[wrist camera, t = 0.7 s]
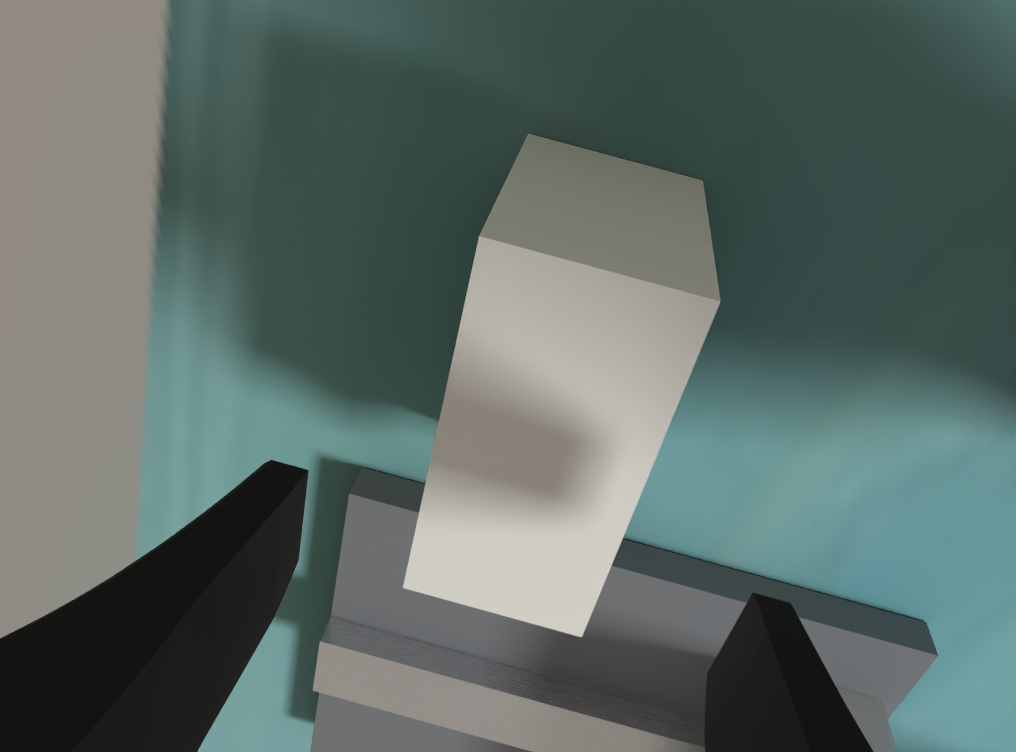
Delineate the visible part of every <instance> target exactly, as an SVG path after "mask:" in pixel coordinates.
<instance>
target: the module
mask: <svg viewBox="0 0 1016 752" xmlns="http://www.w3.org/2000/svg"><path fill="white" fill-rule="evenodd" d="M720 302H721V301H720V294H719V287H718V280H717V273H716V266H715V259H714V253H713V246H712V239H711V232H710V225H709V218H708V212H707V205H706V198H705V191H704V184H703V180H699V179H696V178H692V177H688V176H684V175H681V174H677V173H673V172H670V171H666V170H662V169H658V168H655V167H651V166H647V165H644V164H640V163H636V162H632V161H629V160H625V159H621V158H618V157H614V156H610V155H606V154H603V153H599V152H595V151H592V150H588V149H584V148H580V147H577V146H573V145H569V144H566V143H562V142H558V141H554V140H551V139H547V138H543V137H540V136H536V135H532V134H528V135H527V137H526V139H525V141H524V143H523V146H522V148H521V150H520V152H519V154H518V156H517V158H516V160H515V162H514V164H513V166H512V169H511V171H510V173H509V175H508V177H507V179H506V181H505V183H504V185H503V187H502V189H501V191H500V194H499V196H498V198H497V200H496V202H495V204H494V206H493V208H492V210H491V212H490V214H489V216H488V219H487V221H486V223H485V225H484V227H483V229H482V231H481V233H480V235H479V239H478V244H477V248H476V253H475V257H474V262H473V267H472V271H471V276H470V280H469V285H468V290H467V294H466V299H465V303H464V308H463V313H462V317H461V322H460V327H459V331H458V336H457V340H456V345H455V350H454V354H453V359H452V363H451V368H450V373H449V377H448V382H447V386H446V391H445V396H444V400H443V405H442V410H441V414H440V419H439V423H438V428H437V433H436V437H435V442H434V446H433V451H432V456H431V460H430V465H429V469H428V474H427V479H426V483H425V488H424V493H423V497H422V502H421V506H420V511H419V516H418V520H417V525H416V529H415V534H414V539H413V543H412V548H411V552H410V557H409V562H408V566H407V571H406V576H405V580H404V585H403V588H405V589H408V590H412V591H416V592H419V593H423V594H426V595H430V596H434V597H437V598H441V599H445V600H448V601H452V602H455V603H459V604H463V605H466V606H470V607H474V608H477V609H481V610H484V611H488V612H492V613H495V614H499V615H502V616H506V617H510V618H513V619H517V620H521V621H524V622H528V623H531V624H535V625H539V626H542V627H546V628H550V629H553V630H557V631H560V632H564V633H568V634H571V635H575V636H578V637H582V636H583V633H584V631H585V628H586V626H587V624H588V621H589V619H590V616H591V614H592V612H593V609H594V607H595V604H596V602H597V599H598V597H599V595H600V592H601V590H602V587H603V585H604V583H605V580H606V578H607V575H608V573H609V570H610V568H611V566H612V563H613V561H614V558H615V556H616V553H617V551H618V549H619V546H620V544H621V541H622V539H623V537H624V534H625V532H626V529H627V527H628V524H629V522H630V520H631V517H632V515H633V512H634V510H635V508H636V505H637V503H638V500H639V498H640V495H641V493H642V491H643V488H644V486H645V483H646V481H647V478H648V476H649V474H650V471H651V469H652V466H653V464H654V462H655V459H656V457H657V454H658V452H659V449H660V447H661V445H662V442H663V440H664V437H665V435H666V433H667V430H668V428H669V425H670V423H671V420H672V418H673V416H674V413H675V411H676V408H677V406H678V403H679V401H680V399H681V396H682V394H683V391H684V389H685V387H686V384H687V382H688V379H689V377H690V374H691V372H692V370H693V367H694V365H695V362H696V360H697V358H698V355H699V353H700V350H701V348H702V345H703V343H704V341H705V338H706V336H707V333H708V331H709V328H710V326H711V324H712V321H713V319H714V316H715V314H716V312H717V309H718V307H719V304H720Z"/></svg>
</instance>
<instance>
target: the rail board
mask: <svg viewBox="0 0 1016 752" xmlns="http://www.w3.org/2000/svg"><path fill="white" fill-rule="evenodd" d="M424 488H425V484H421V483H418V482H414V481H410V480H407V479H403V478H399V477H396V476H392V475H388V474H385V473H381V472H378V471H374V470H370V469H367V468H363V467H362V468H361V470H360V472H359V474H358V476H357V478H356V480H355V482H354V485H353V487H352V489H351V491H350V493H349V497H348V504H347V511H346V517H345V524H344V531H343V537H342V544H341V551H340V557H339V564H338V571H337V577H336V584H335V591H334V597H333V604H332V611H331V616H330V619H329V621H328V623H327V626H326V628H325V630H324V633H323V635H322V637H321V639H320V643H319V650H318V657H317V664H316V671H315V678H314V685H313V691H316V692H319V697H318V704H317V711H316V717H315V724H314V731H313V737H312V744H311V751H310V752H705V741H704V729H705V701H706V683H707V673H708V671H709V669H710V667H711V666H712V664H713V662H714V660H715V658H716V657H717V655H718V653H719V651H720V650H721V648H722V646H723V644H724V643H725V641H726V639H727V637H728V635H729V634H730V632H731V630H732V628H733V627H734V625H735V623H736V621H737V619H738V618H739V616H740V614H741V612H742V611H743V609H744V607H745V605H746V604H747V602H748V600H749V598H750V596H751V595H752V593H757V594H760V595H764V596H768V597H771V598H775V599H779V600H782V601H786V602H789V603H791V604H792V606H793V608H794V610H795V612H796V613H797V615H798V617H799V619H800V621H801V623H802V624H803V626H804V628H805V630H806V632H807V634H808V636H809V638H810V639H811V641H812V643H813V645H814V647H815V649H816V651H817V652H818V654H819V656H820V658H821V660H822V662H823V664H824V665H825V667H826V669H827V671H828V673H829V675H830V676H831V678H832V680H833V682H834V684H835V686H836V687H837V689H838V691H839V693H840V695H841V696H842V698H843V700H844V702H845V704H846V705H847V707H848V709H849V711H850V712H851V714H852V716H853V717H854V719H855V721H856V723H857V724H858V726H859V728H860V729H861V731H862V733H863V735H864V736H865V738H866V740H867V741H868V743H869V745H870V746H871V748H872V750H873V751H874V752H896V749H895V745H894V741H893V738H892V734H891V730H890V727H889V723H888V718H889V717H890V716H891V714H892V713H893V712H894V710H895V709H896V708H897V707H898V705H899V704H900V703H901V702H902V700H903V699H904V698H905V697H906V695H907V694H908V693H909V692H910V690H911V689H912V688H913V687H914V685H915V684H916V683H917V682H918V680H919V679H920V678H921V677H922V675H923V674H924V673H925V672H926V670H927V669H928V668H929V667H930V665H931V664H932V663H933V662H934V660H935V659H936V658H937V657H938V654H937V651H936V648H935V645H934V643H933V640H932V637H931V634H930V631H929V628H928V626H927V623H926V622H923V621H920V620H916V619H913V618H909V617H905V616H902V615H898V614H894V613H891V612H887V611H883V610H880V609H876V608H872V607H869V606H865V605H862V604H858V603H854V602H851V601H847V600H843V599H840V598H836V597H832V596H829V595H825V594H822V593H818V592H814V591H811V590H807V589H803V588H800V587H796V586H792V585H789V584H785V583H782V582H778V581H774V580H771V579H767V578H763V577H760V576H756V575H752V574H749V573H745V572H741V571H738V570H734V569H731V568H727V567H723V566H720V565H716V564H712V563H709V562H705V561H701V560H698V559H694V558H691V557H687V556H683V555H680V554H676V553H672V552H669V551H665V550H661V549H658V548H654V547H650V546H647V545H643V544H640V543H636V542H632V541H629V540H625V539H622V541H621V544H620V546H619V549H618V551H617V553H616V556H615V558H614V561H613V563H612V566H611V568H610V570H609V573H608V575H607V578H606V580H605V583H604V585H603V587H602V590H601V592H600V595H599V597H598V599H597V602H596V604H595V607H594V609H593V612H592V614H591V616H590V619H589V621H588V624H587V626H586V628H585V631H584V633H583V636H582V637H578V636H575V635H571V634H568V633H564V632H560V631H557V630H553V629H550V628H546V627H542V626H539V625H535V624H531V623H528V622H524V621H521V620H517V619H513V618H510V617H506V616H502V615H499V614H495V613H492V612H488V611H484V610H481V609H477V608H474V607H470V606H466V605H463V604H459V603H455V602H452V601H448V600H445V599H441V598H437V597H434V596H430V595H426V594H423V593H419V592H416V591H412V590H408V589H405V588H403V585H404V580H405V576H406V571H407V566H408V562H409V557H410V552H411V548H412V543H413V539H414V534H415V529H416V525H417V520H418V516H419V511H420V506H421V502H422V497H423V493H424Z"/></svg>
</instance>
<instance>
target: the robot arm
mask: <svg viewBox="0 0 1016 752" xmlns="http://www.w3.org/2000/svg"><path fill="white" fill-rule="evenodd" d="M307 479H308V470H306V469H302V468H299V467H295V466H292V465H288V464H284V463H281V462H277V461H273V460H270V461H268V462H266V463H264V464H263V465H262V466H261V467H259V468H258V469H257V470H256V471H255V472H254V473H252V474H251V475H250V476H249V477H248V478H246V479H245V480H244V481H243V482H242V483H240V484H239V485H238V486H237V487H236V488H234V489H233V490H232V491H231V492H229V493H228V494H227V495H226V496H224V497H223V498H222V499H221V500H219V501H218V502H217V503H215V504H214V505H213V506H212V507H210V508H209V509H208V510H207V511H205V512H204V513H203V514H201V515H200V516H199V517H197V518H196V519H195V520H193V521H192V522H190V523H189V524H188V525H186V526H185V527H184V528H182V529H181V530H180V531H178V532H177V533H176V534H174V535H173V536H172V537H170V538H169V539H167V540H166V541H165V542H163V543H162V544H160V545H159V546H157V547H156V548H154V549H153V550H151V551H150V552H148V553H147V554H145V555H144V556H142V557H141V558H139V559H138V560H136V561H135V562H133V563H132V564H130V565H129V566H127V567H126V568H124V569H123V570H121V571H120V572H118V573H117V574H115V575H114V576H112V577H111V578H109V579H107V580H106V581H104V582H103V583H101V584H99V585H98V586H96V587H94V588H93V589H91V590H89V591H88V592H86V593H85V594H83V595H81V596H79V597H77V598H76V599H74V600H72V601H70V602H69V603H67V604H65V605H63V606H62V607H60V608H58V609H56V610H54V611H53V612H51V613H49V614H47V615H45V616H43V617H41V618H40V619H38V620H36V621H34V622H32V623H30V624H28V625H26V626H24V627H22V628H20V629H18V630H16V631H14V632H12V633H10V634H8V635H6V636H4V637H2V638H0V752H197V751H198V749H199V747H200V746H201V744H202V742H203V740H204V738H205V737H206V735H207V733H208V731H209V730H210V728H211V726H212V724H213V723H214V721H215V719H216V717H217V716H218V714H219V712H220V711H221V709H222V707H223V705H224V704H225V702H226V700H227V698H228V697H229V695H230V693H231V692H232V690H233V688H234V686H235V685H236V683H237V681H238V679H239V678H240V676H241V674H242V673H243V671H244V669H245V667H246V666H247V664H248V662H249V660H250V659H251V657H252V655H253V653H254V652H255V650H256V648H257V646H258V645H259V643H260V641H261V639H262V638H263V636H264V634H265V632H266V631H267V629H268V627H269V625H270V624H271V622H272V620H273V618H274V616H275V614H276V612H277V609H278V607H279V605H280V603H281V600H282V598H283V596H284V593H285V591H286V589H287V586H288V584H289V582H290V579H291V577H292V575H293V572H294V570H295V568H296V565H297V563H298V560H299V551H300V542H301V533H302V524H303V515H304V506H305V497H306V488H307ZM704 741H705V752H874V751H873V750H872V748H871V746H870V745H869V743H868V741H867V740H866V738H865V736H864V735H863V733H862V731H861V729H860V728H859V726H858V724H857V723H856V721H855V719H854V717H853V716H852V714H851V712H850V711H849V709H848V707H847V705H846V704H845V702H844V700H843V698H842V696H841V695H840V693H839V691H838V689H837V687H836V686H835V684H834V682H833V680H832V678H831V676H830V675H829V673H828V671H827V669H826V667H825V665H824V664H823V662H822V660H821V658H820V656H819V654H818V652H817V651H816V649H815V647H814V645H813V643H812V641H811V639H810V638H809V636H808V634H807V632H806V630H805V628H804V626H803V624H802V623H801V621H800V619H799V617H798V615H797V613H796V612H795V610H794V608H793V606H792V604H791V603H789V602H786V601H782V600H779V599H775V598H771V597H768V596H764V595H760V594H757V593H752V595H751V596H750V598H749V600H748V602H747V604H746V605H745V607H744V609H743V611H742V612H741V614H740V616H739V618H738V619H737V621H736V623H735V625H734V627H733V628H732V630H731V632H730V634H729V635H728V637H727V639H726V641H725V643H724V644H723V646H722V648H721V650H720V651H719V653H718V655H717V657H716V658H715V660H714V662H713V664H712V666H711V667H710V669H709V671H708V673H707V683H706V701H705V729H704Z"/></svg>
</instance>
